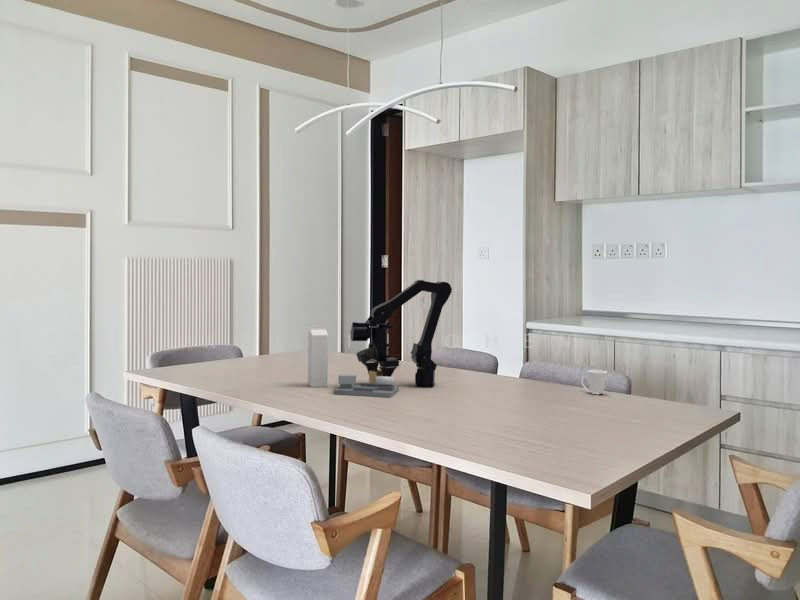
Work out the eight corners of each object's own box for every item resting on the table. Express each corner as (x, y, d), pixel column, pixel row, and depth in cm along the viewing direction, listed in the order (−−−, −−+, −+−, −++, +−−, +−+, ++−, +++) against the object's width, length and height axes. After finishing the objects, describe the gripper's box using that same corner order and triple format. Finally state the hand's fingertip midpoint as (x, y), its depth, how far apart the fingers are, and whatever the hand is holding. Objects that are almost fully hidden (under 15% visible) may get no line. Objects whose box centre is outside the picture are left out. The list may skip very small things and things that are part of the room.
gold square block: (380, 385, 237) (381, 368, 237) (387, 387, 233) (388, 370, 233) (369, 386, 235) (369, 369, 234) (376, 388, 230) (376, 371, 230)
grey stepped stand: (398, 391, 226) (398, 374, 225) (390, 397, 214) (391, 379, 214) (344, 388, 230) (344, 371, 230) (333, 394, 218) (333, 376, 218)
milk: (307, 384, 236) (308, 325, 236) (323, 384, 239) (324, 324, 238) (311, 387, 231) (311, 326, 230) (327, 386, 233) (328, 326, 232)
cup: (599, 396, 222) (600, 373, 222) (575, 392, 230) (575, 369, 230) (611, 394, 226) (611, 371, 226) (587, 390, 234) (587, 368, 234)
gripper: (347, 339, 237) (347, 381, 237) (372, 344, 221) (372, 389, 222) (373, 338, 243) (373, 379, 243) (400, 343, 227) (399, 386, 228)
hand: (378, 383), depth 234 cm, fingers open, 9 cm apart
